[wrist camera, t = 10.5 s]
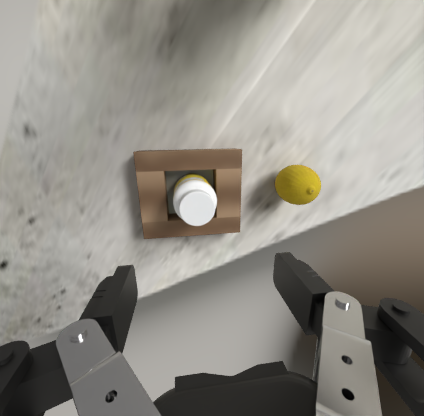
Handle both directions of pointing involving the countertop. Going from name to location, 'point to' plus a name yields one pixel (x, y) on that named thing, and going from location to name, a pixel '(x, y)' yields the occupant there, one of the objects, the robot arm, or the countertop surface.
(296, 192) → the lemon
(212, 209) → the supplement bottle
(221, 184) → the block
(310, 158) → the countertop surface
